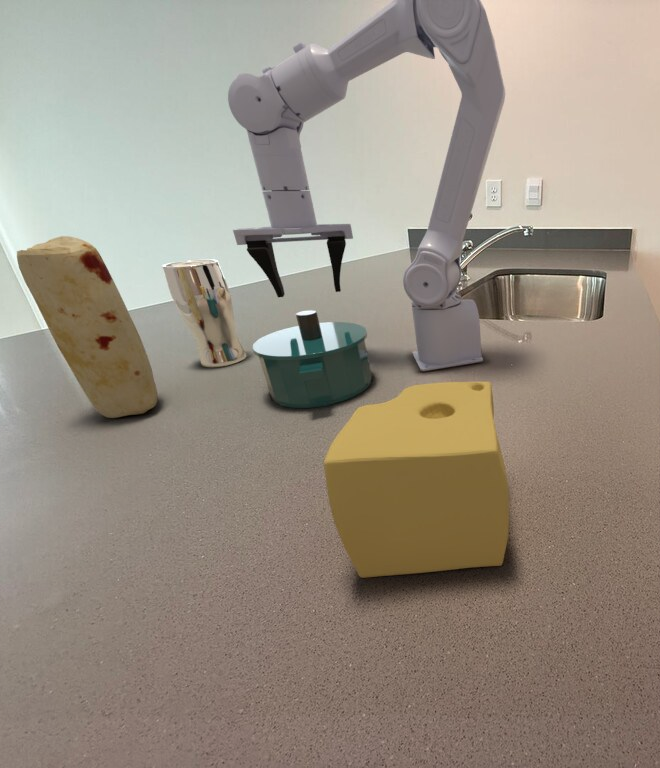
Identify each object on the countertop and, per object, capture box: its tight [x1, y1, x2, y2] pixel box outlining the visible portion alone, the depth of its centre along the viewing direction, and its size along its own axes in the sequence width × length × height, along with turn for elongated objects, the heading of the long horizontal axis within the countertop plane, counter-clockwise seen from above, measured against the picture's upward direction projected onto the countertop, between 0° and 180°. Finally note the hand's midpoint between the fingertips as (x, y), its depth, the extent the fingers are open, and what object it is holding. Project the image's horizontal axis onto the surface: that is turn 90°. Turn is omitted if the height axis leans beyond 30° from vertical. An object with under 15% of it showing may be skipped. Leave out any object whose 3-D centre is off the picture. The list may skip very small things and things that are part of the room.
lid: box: [251, 309, 368, 360], centre depth 52 cm, size 13×13×4 cm
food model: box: [16, 235, 159, 419], centre depth 46 cm, size 10×7×20 cm
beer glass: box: [162, 259, 247, 368], centre depth 61 cm, size 7×7×15 cm
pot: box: [258, 339, 372, 409], centre depth 54 cm, size 12×18×6 cm
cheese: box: [323, 381, 510, 579], centre depth 30 cm, size 10×11×10 cm
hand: (310, 293), depth 60 cm, fingers open, 7 cm apart
